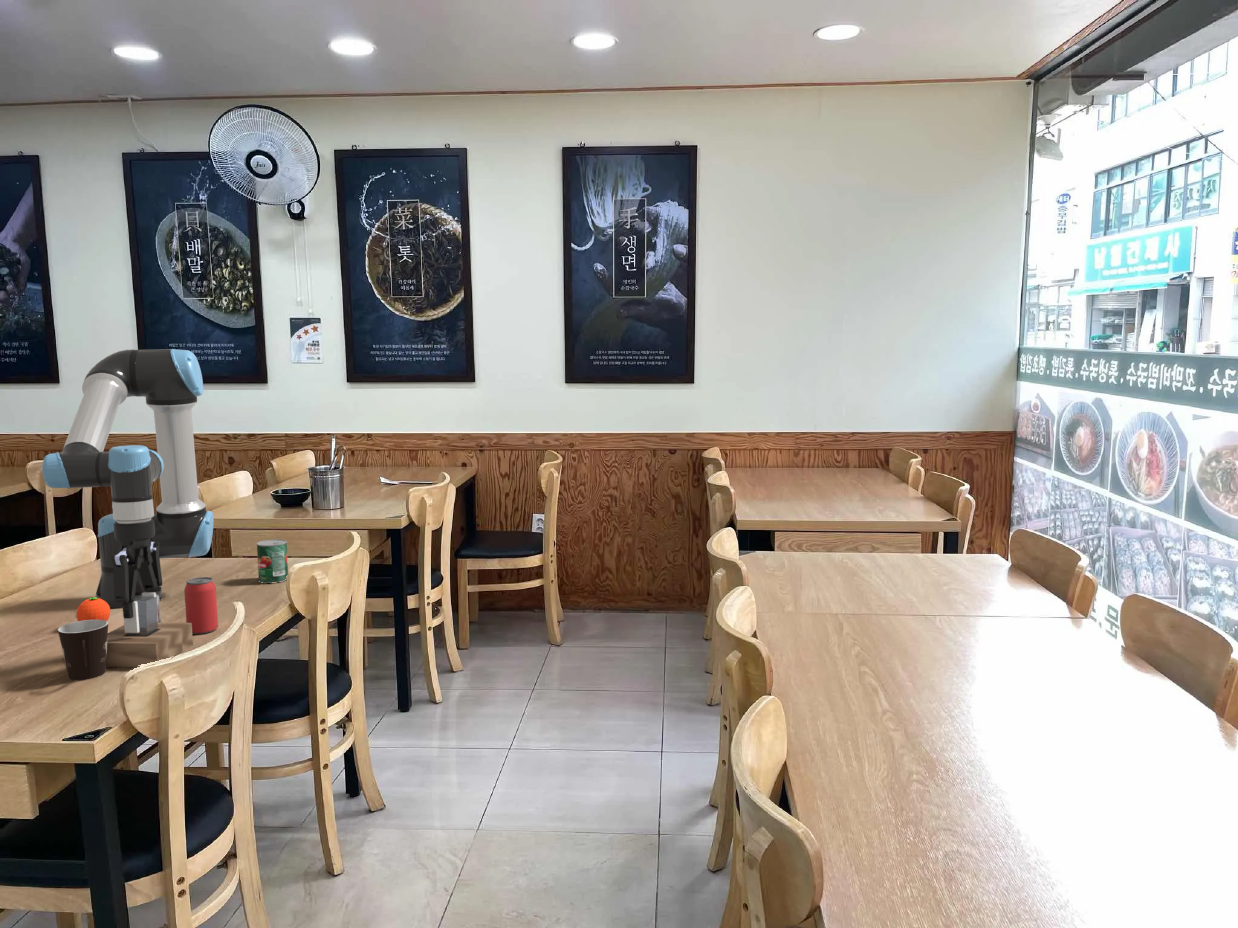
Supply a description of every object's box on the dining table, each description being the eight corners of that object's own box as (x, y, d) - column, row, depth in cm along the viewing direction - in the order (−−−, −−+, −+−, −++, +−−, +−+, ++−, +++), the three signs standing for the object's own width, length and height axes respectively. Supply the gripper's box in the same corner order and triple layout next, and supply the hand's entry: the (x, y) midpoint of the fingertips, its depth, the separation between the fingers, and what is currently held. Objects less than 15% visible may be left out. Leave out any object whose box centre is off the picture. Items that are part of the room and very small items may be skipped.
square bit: (140, 651, 192) (138, 596, 192) (158, 652, 192) (156, 596, 191) (129, 656, 188) (127, 600, 188) (147, 656, 188) (146, 600, 187)
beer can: (198, 636, 202) (194, 585, 201) (181, 631, 206) (177, 581, 204) (224, 629, 208) (221, 578, 206) (207, 624, 211) (204, 575, 210)
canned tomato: (252, 582, 249) (250, 544, 247) (271, 576, 256) (269, 538, 255) (276, 584, 246) (274, 545, 245) (294, 578, 254) (292, 540, 253)
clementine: (80, 623, 212) (78, 594, 211) (113, 620, 215) (111, 591, 214) (75, 633, 205) (72, 603, 204) (109, 629, 208) (107, 599, 207)
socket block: (131, 643, 197) (129, 622, 197) (193, 644, 197) (191, 622, 196) (91, 666, 183) (89, 642, 183) (157, 667, 183) (155, 643, 182)
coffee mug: (75, 667, 183) (71, 620, 181) (119, 666, 183) (116, 619, 182) (44, 688, 171) (40, 638, 170) (91, 687, 172) (87, 637, 171)
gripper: (142, 511, 196) (150, 613, 199) (87, 529, 177) (96, 641, 180) (176, 511, 196) (183, 613, 198) (123, 529, 177) (132, 641, 179)
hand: (141, 626), depth 189 cm, fingers open, 6 cm apart
